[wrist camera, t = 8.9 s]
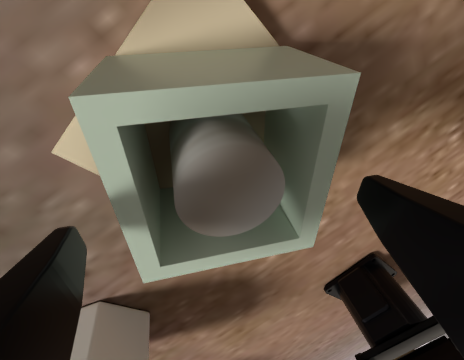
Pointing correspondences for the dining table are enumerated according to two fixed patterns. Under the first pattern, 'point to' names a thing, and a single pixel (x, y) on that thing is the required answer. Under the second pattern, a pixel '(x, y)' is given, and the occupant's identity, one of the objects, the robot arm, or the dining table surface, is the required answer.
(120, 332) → the jar
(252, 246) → the sleeve
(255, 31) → the knob on square plate
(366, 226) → the dining table surface
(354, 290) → the robot arm
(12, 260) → the dining table surface
